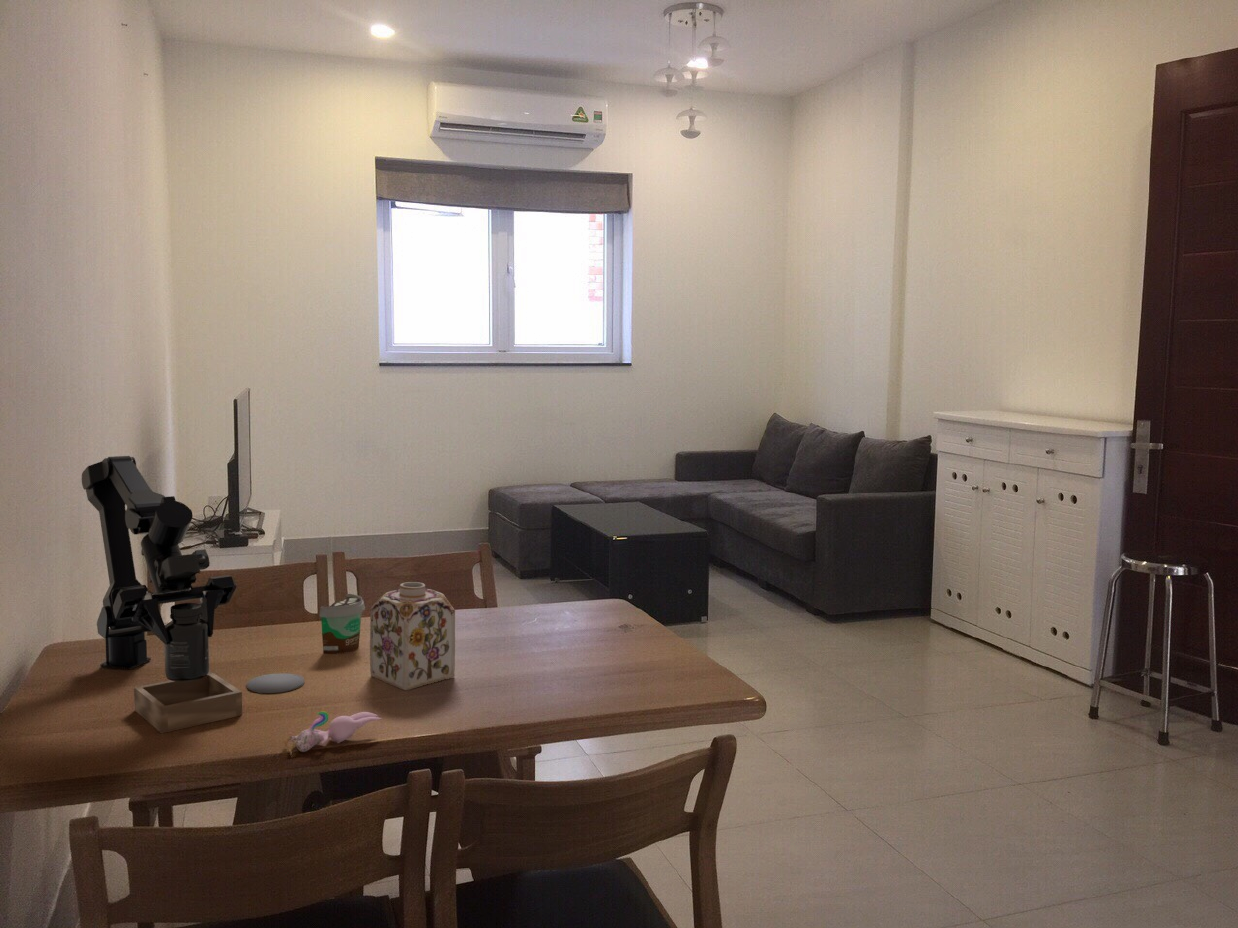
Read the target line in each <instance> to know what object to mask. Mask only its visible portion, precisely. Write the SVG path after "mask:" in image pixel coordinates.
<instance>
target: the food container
mask: <svg viewBox="0 0 1238 928" xmlns="http://www.w3.org/2000/svg"><path fill="white" fill-rule="evenodd" d="M365 610H366V607H365V602H364V600H363V597H362V596H360V595H358V594H354V593H346V598H344V599H342V600H338V601H335V602H333V603H332V604H331V605H329V606H320V610H319V618H320V621H321V622H320V623H321V636H322V637H321V639H322V640H321V641H322V650H323V651H322V652H323V653H322V654H323V655H339V653H340V654H346V653H350V652H354V651H356V650H357V649H359V647H360V637H361V636H360V635H361V625H362V622H361V621H362V613H363V612H364V611H365ZM337 653H338V654H337Z"/></svg>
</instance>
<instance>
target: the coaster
mask: <svg viewBox="0 0 1238 928" xmlns="http://www.w3.org/2000/svg"><path fill="white" fill-rule="evenodd" d="M304 685H305V677H303V676H301V675H299V674H295V673H283V672H281V673H268V674H263V675H259V676H255V677H254V678H251V679H250V680H248V681H247V683H246V689H247V690H249V691H250V692H253V693H259V694H279V693H280V694H282V693H287V692H293V691H294V690H297V689H300V688H301V687H303V686H304Z"/></svg>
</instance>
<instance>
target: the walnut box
mask: <svg viewBox="0 0 1238 928" xmlns="http://www.w3.org/2000/svg"><path fill="white" fill-rule="evenodd" d="M133 689H134V690H133V692H134V694H133V696H134V701H133V702H134V711H135V712H136V713H137V714H139V716H141V717H142V718H143V719H144V720H145V721H146V722H147V723H149V725H150V726H152V727H154V728H155V729H156V730H157V731H158V732H159V733H160V734H165V733H169V732H173V731H177V730H182V729H187V728H190V727H196V726H199V725H200V726H201V725H204V724H209V723H213V722H217V721H223V720H226V719H227V720H228V719H231V718H236V717H239V716H242V715H243V692H242V690H240V689H238V688H237V687H236V686H234V685H232V684H230V683H229V682H227V681H226V680H224V679H223V678H222V677H220V676H219V675H217V674H215V673H213V672H209V673H208V675H207V676H205V677H203V678H201V679H198V680H193V681H183V682H179V681H171V680H166V681H161V682H160V681H159V682H155V683H150V684H146V685H141V686H140V685H139V686H135V687H133Z"/></svg>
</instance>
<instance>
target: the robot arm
mask: <svg viewBox="0 0 1238 928" xmlns="http://www.w3.org/2000/svg"><path fill="white" fill-rule="evenodd" d="M81 485H82V489H83V490H85V492H86V498H87V501H88V502H89V503H90V504H91V505H92V506H93V507H94V509H96V510H97V511H98V514H99V521H100V526H101V527H100V528H101V534H102V540H103V542H102V543H103V547H104V549H103V550H104V554H105V561H106V568H107V575H108V581H109V586H108V588H107V591H106V593H105V594H104V596H103V599H102V607H101V610H100V612H99V615H98V618H97V621H96V627H97V635H99V636H101V637H102V638H103V639H105V662H102V663H100V666H99V667H100V668H107V669H116V670H118V669H119V670H125V671H126V670H131V669H132V670H133V669H134V668H136V667H139V666H141V665H143V664H145V663H148V662H150V661H151V657H148V653H147V652H148V651H147V650H148V647H147V644H148V643H147V640H146V639H145V637H146V636H145V635H146V634H145V633H147V632H148V633H149V632H150V633H151V632H152V633H153V634H154V635H155V636H156V637H157V638H158V639H159V640H160V641H161V642H163V645H165V644H166V645H167V644H169V637H168V633H167V630H166V627H165V626H166V625H165V623H164V620H163V618H162V615H161V613H160V606H159V605H161V604H162V605H163V604H169V603H177V602H185V601H190V600H197V599H199V601H200V604H201V605H202V616H201V619H203V620H204V621H206V622H207V624H208V627H209V638H212V636H213V635H214V620H215V610H216V609H217V608H218V606H223V605H227V604H228V603H229V602H230V601H231V599H232V597H233V595H234V593H235V591H236V589H237V587H238V585H237V583H236V580H235V578H234V577H233V576H232V575H230V574H227V575H226V574H225V575H217V576H211V577H209V578H208V579H207V582H206V584H205V585H203V586H201V585H200V586H196V587H193V585H192V584H195V583H196V581H197V576H196V575H197V574H200V573H201V571H202V570H207V568H209V567H210V566H211V565H210V564H211V563H210V557H209V554H208V552H207V549H205V548H204V549H196V550H194V552H192V553H190V554H189V553H188V554H182V551H181V549H180V548H181V547H180V546H179V545H180V544H181V543H183V542H184V540H185V537H186V535H187V533H188V530H189V527H190V525H191V522H192V520H193V512H192V509H191V508H190V507H188V506H187V505H186V504H185V503H183V502H180V501H177V500H176V498H175V496H174V495H173V496H165V495H164V494H161V493H158V492H155V491H153V490H152V489H151V487H150V486H149V483H148V482H147V481H146V479H145V478H144V476H143V475H142V473H141V472H140V470H139V469H138V467H137V462H136V458H135V457H134V456H130V455H120V456H118V455H117V456H108V457H105V458H103V459H102V460H101V461H99V462H97V463H93V464H90V465H88V466H87V467H86V468H84V470H83V471H82V472H81ZM130 532H131V533H132V535H134V536H135V535H143V534H145V536H143V538H142V539H141V541H140V547H141V550H140V551H141V553H140V554H141V556H144V560H145V564H146V566H147V569H148V573H149V575H148V582H149V583H152V586H153V590H154V592H152V591H150V590H149V588H148V587H147V586H146V584H141V582H140V581H139V580H138V579H137V577H136V570H135V563H134V557H133V549H132V543H131V535H130Z"/></svg>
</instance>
